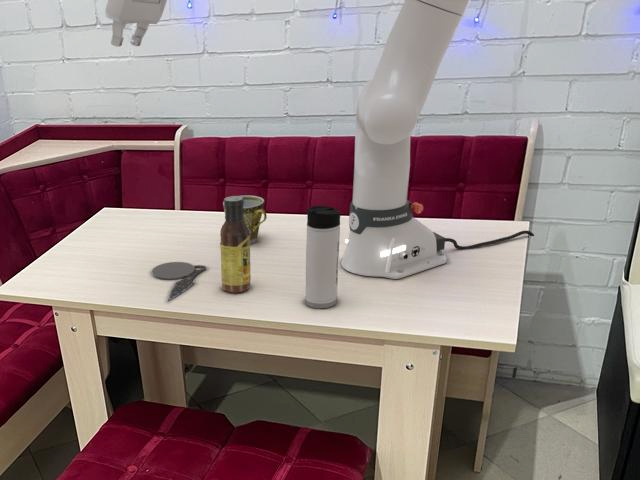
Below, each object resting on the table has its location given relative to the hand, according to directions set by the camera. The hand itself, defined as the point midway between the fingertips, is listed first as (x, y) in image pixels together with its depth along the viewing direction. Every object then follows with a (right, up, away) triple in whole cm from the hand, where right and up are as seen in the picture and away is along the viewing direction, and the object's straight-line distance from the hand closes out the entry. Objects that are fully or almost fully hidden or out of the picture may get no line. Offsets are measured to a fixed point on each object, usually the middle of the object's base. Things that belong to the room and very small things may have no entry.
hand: (125, 45), depth 149 cm
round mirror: (+11, -42, +25) cm, 50 cm away
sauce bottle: (+24, -47, +13) cm, 55 cm away
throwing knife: (+13, -46, +19) cm, 51 cm away
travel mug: (+40, -51, +3) cm, 65 cm away
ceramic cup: (+31, -32, +37) cm, 58 cm away
